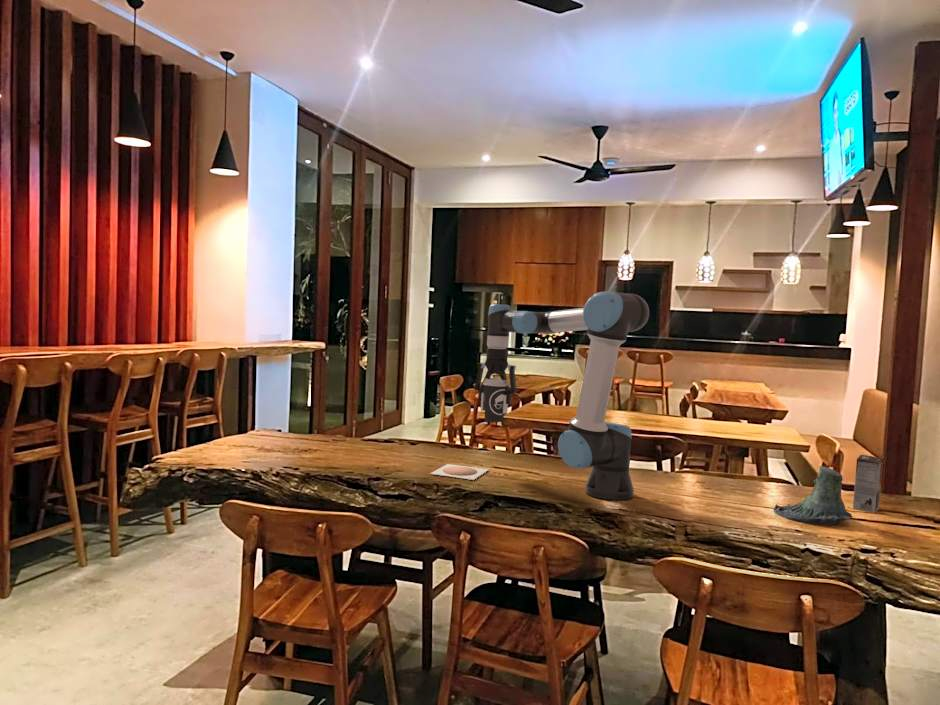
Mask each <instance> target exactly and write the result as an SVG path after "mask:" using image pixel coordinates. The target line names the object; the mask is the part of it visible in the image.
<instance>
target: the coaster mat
mask: <svg viewBox="0 0 940 705" xmlns="http://www.w3.org/2000/svg"><path fill="white" fill-rule="evenodd" d="M487 471H488V472H490V469H488V468H480V467H474V466H473V467H472V466H465V465H458V464H452V463H451V464H449V463H447V464H445V465H443V466H441V467H439V468H437V469H435V470H434V471H432V472H430V473H429V475H430V474H433V475H440V476H449V477H456V478H463V479H468V480H467V481H469V480H473V481H472V482H475V481H476V480H478V479H479V478H480V476H481V475H482V476H484V475H485V474H487V473H488V472H487ZM486 472H487V473H486ZM484 473H485V474H484ZM483 474H484V475H483ZM433 475H432V476H433ZM440 476H439V477H440ZM482 476H481V477H482ZM478 477H479V478H478ZM477 478H478V479H477ZM475 479H476V480H475ZM474 480H475V481H474Z"/></svg>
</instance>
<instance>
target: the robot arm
mask: <svg viewBox="0 0 940 705" xmlns="http://www.w3.org/2000/svg"><path fill="white" fill-rule="evenodd" d="M487 318H488V320H487V336H486V337H487V338H486V339H487V340H486V346H487V348H486V357H485V358H486V359H485V362H477V373H476V379H475V383H474V386H473V387H474V388H473V389H474V390H475V391H477V392H478V401H479V402H480V411H481V412H485V410H484V385H483V381H484V380H485V378H487V379H490V378H492V376H493V375H498V376H499V378H501V380H508V378H507V373H506V370H508V372H509V373H508V374H509V386H506V389H505V392H506V395H504V403H503V413H504V415H505V414H507V413H508V408H509V404H510V405H511V403H512V402H511V400H512V399H511V398H512V395H514V394H516V393H517V385H516V374H515V371H516V368H517V366H516V365H512V364H509V363H508V355H509V350H508V347H509V336H510V333H513V334H514V333H516V334H517V333H518V334H524V335H525V334H545V335H553V334H557V333H565V332H566V333H567V332H577V331H586V334H587V336H588V338H589V340H590V342H589V347H588V353H587V357H586V362H585V369H584V373H583V378H582V379H583V380H582V385H581V389H580V394H579V401H578V405H577V410H576V414H575V416H574V417H571V419H570V420H569V425H568V429H567V430H564V432H562V433H561V434H560V436H559V438H558V441H557V449H558V453H559V455H560V456H561V459H562V461H563V462H564V463H565V464H566V465H568V466H569V467H570V468H573V469H588V468H589V467H590V468H591V471H590V473H589V476H588V478H587V480H586V483H585V491H586V492H585V493H586V494H587V493H588V494H589V496H590V495H592V496H591V497H593V496H595V497H594V498H596V497H598V498H597V499H600V498H603V499H602V500H606V499H614V500H613V501H626V500H625V499H628V500H631V499H633V498H634V492H635V491H634V486H633V482H632V477H631V475H630V464H631V449H632V448H631V447H632V429H631V427H630V426H629V425H626V424H620V423H617V422H610V421H605V420H606V414H607V411H608V410H607V409H608V404H609V400H610V395H611V390H612V386H613V381H614V375H615V371H616V366H617V360H618V356H619V352H620V346H621V345H622V344H624V343H626V341H627V338H628V334H629V333H634V332H636V331H639V330H640V329H642V328H643V327H644V326H645V325H646V324H647V323H648V320H649V318H650V309H649V305H648V303H647V302H646V300H645V299H644V298H643V297H641V296H640V295H638V294H635V293H624V292H617V291H612V290H611V291H609V290H607V291H600V292H596V293H594V294H592V296H590V297H589V298H588V300H587V301H586V302H585V304H584V307H577V308H571V309H570V308H569V309H568V308H567V309H561V310H554V311H553V310H552V311H530V310H529V311H528V310H511V306H510V305H508V304H499V303H498V304H497V303H492V304H490V306H489V308H488V315H487ZM485 367H486V369H487V371H486V373H485V376H484V378H483V374H484V369H485ZM482 379H483V381H482ZM505 382H506V381H505ZM588 494H587V495H588ZM632 497H633V498H632ZM630 498H631V499H630Z"/></svg>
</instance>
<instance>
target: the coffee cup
mask: <svg viewBox="0 0 940 705" xmlns="http://www.w3.org/2000/svg"><path fill="white" fill-rule="evenodd" d="M484 378H485V377H484ZM483 380H484V379H483ZM505 381H506V382H505ZM482 382H483V385H484V421H485V422H490V423H502V422H503V421H504V416H505V414H504V413H503V403H504V395H506V392H505V389H506V386H509V387H510V382H509V381H508V379H507V380H501V377H490V379H487V378H485V380H484V381H482Z"/></svg>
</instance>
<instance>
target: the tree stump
mask: <svg viewBox="0 0 940 705" xmlns="http://www.w3.org/2000/svg"><path fill="white" fill-rule="evenodd" d="M817 473H818V474H817V476H816V479H814V480H813V481H812V482H813V483H814V486H813V488H812V490H811V493H809V494H808V495H807V496H805V498H804V499H803V500H801V501H800V502H798V503H796V504H792V505H790V504H788V505H782V506H781V505H778V504H775V506H774V508H773V512H774V513H775V514H776V515H777V516H780V517H782V518H783V519H784V518H785V520H786V519H787V520H790V521H794V522H798V523H808V524H813V525H826V526H834V525H835V524H837V523H839V522H843V521H847V520H849V519H852V518H853V517H854V516H853V515H852V513H850V512H849V511H847V510H846V507H845V502H844V501H843V499H842V487H843V475H842V474H841V473H840V472H839V471H837V470H835V469H832V468H830V467H826V466H822V465H821V466H819V469H818V472H817Z"/></svg>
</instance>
